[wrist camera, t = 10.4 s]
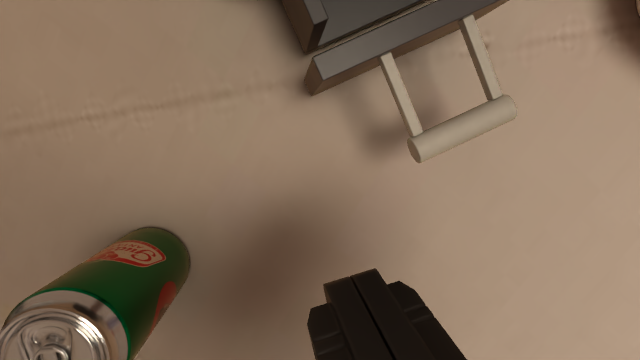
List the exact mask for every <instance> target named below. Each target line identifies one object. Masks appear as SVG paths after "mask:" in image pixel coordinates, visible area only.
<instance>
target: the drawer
mask: <svg viewBox="0 0 640 360" xmlns="http://www.w3.org/2000/svg"><path fill="white" fill-rule="evenodd" d="M281 1H282V3H283V5H284V8H285V10H286V12H287V14H288V17H289V19H290V21H291V23H292V26H293V28H294V30H295V32H296V35H297V37H298V39H299V41H300V44H301V46H302V48H303V50H304V53H305V54H308V53H311V52H313V51H315V50H317V49H319V48H322V47H324V46H326V45H328V44H330V43H333V42H335V41H337V40H339V39H341V38H344V37H346V36H348V35H350V34H353V33H355V32H357V31H359V30H361V29H364V28H366V27H368V26H370V25H372V24H375V23H377V22H379V21H381V20H383V19H386V18H388V17H390V16H392V15H395V14H397V13H399V12H401V11H403V10H406V9H408V8H410V7H412V6H414V5H417V4H419V3H421V2H423V1H425V0H281ZM507 1H509V0H437V1H435V2H433V3H431V4H429V5H426V6H424V7H422V8H420V9H418V10H415V11H413V12H411V13H409V14H407V15H404V16H402V17H400V18H398V19H396V20H393V21H391V22H389V23H387V24H385V25H382V26H380V27H378V28H376V29H374V30H371V31H369V32H367V33H365V34H362V35H360V36H358V37H356V38H354V39H351V40H349V41H347V42H345V43H343V44H340V45H338V46H336V47H334V48H332V49H329V50H327V51H325V52H323V53H321V54H318V55H316V56H314V57H313V58H312V60H311V63H310V66H309V68H308V71H307V74H306V76H305V79H304V81H305V83H306V85H307V88H308V90H309V92H310V94H311V96H314V95H316V94H318V93H320V92H323V91H325V90H327V89H329V88H331V87H334V86H336V85H338V84H340V83H342V82H344V81H347V80H349V79H351V78H353V77H355V76H358V75H360V74H362V73H364V72H366V71H369V70H371V69H373V68H375V67H377V66H379V65H380V66H381V68H382V70H383V73H384V75H385V78H386V80H387V82H388V85H389V87H390V90H391V92H392V94H393V97H394V99H395V102H396V104H397V106H398V109H399V111H400V114H401V116H402V118H403V121H404V123H405V126H406V128H407V130H408V133H409V135H410V137H411V138H409V139H408V140H407V144H408V148H409V151H410V153H411V155H412V157H413V158H414V159H415V161H416V162H418V163H422V162H424V161H426V160H428V159H430V158H433V157H435V156H437V155H439V154H441V153H443V152H445V151H447V150H450V149H452V148H454V147H456V146H458V145H460V144H462V143H464V142H467V141H469V140H471V139H473V138H475V137H477V136H479V135H481V134H484V133H486V132H488V131H490V130H492V129H494V128H496V127H498V126H501V125H503V124H505V123H507V122H509V121H511V120H513V119H515V118H516V117H517V107H516V104H515V102H514V101H513V99H512V98H511V97H510V96H508V95H503V93H502V90H501V88H500V85H499V82H498V80H497V77H496V74H495V72H494V69H493V66H492V64H491V61H490V58H489V56H488V53H487V50H486V48H485V45H484V42H483V40H482V37H481V34H480V32H479V29H478V26H477V23H476V21H475V20H477V19H479V18H480V17H482V16H484V15H485V14H487V13H489V12H490V11H492V10H494V9H495V8H497V7H499V6H500V5H502V4H504V3H505V2H507ZM458 29H461V32H462V34H463V37H464V40H465V42H466V45H467V47H468V50H469V53H470V55H471V58H472V61H473V63H474V66H475V68H476V71H477V74H478V76H479V79H480V81H481V84H482V87H483V89H484V92H485V95H486V97H487V100H490V101H488V102H486V103H484V104H481V105H479V106H477V107H475V108H473V109H471V110H469V111H466V112H464V113H462V114H460V115H458V116H456V117H454V118H451V119H449V120H447V121H445V122H443V123H441V124H439V125H436V126H434V127H432V128H430V129H428V130H426V131H424V132H423V129H422V126H421V124H420V122H419V119H418V117H417V114H416V112H415V109H414V107H413V104H412V102H411V100H410V97H409V95H408V92H407V90H406V87H405V85H404V83H403V80H402V78H401V75H400V73H399V70H398V68H397V66H396V63H395V61H394V59H395V58H397V57H399V56H401V55H403V54H406V53H408V52H410V51H412V50H414V49H417V48H419V47H421V46H423V45H425V44H428V43H430V42H432V41H434V40H436V39H438V38H441V37H443V36H445V35H447V34H449V33H452V32H454V31H456V30H458Z"/></svg>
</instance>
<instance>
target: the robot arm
mask: <svg viewBox="0 0 640 360" xmlns="http://www.w3.org/2000/svg"><path fill="white" fill-rule="evenodd" d="M323 286H324V292H325V297H326V301H327V303H326V304H323V305H320V306H317V307H313V308H311V309H310V314H309V318H308V323H307V326H308V330H309V334H310V338H311V342H312V346H313V350H314V355H315V359H316V360H467V359H466V358H465V357H464V355H463V354H462V353H461V351H460V350H459V349H458V347H457V346H456V345H455V343H454V342H453V341H452V339H451V338H450V337H449V335H448V334H447V332H446V331H445V330H444V328H443V327H442V326H441V324H440V323H439V322H438V320H437V319H436V318H434V316H433V314H432V312H431V311H430V310H429V308H428V307H427V306H425V303H424V302H423V300H422V299H421V298H420V296H419V295H418V294H417V292H416V291H415V290H414V289H412V288H410V287H409V286H407V285H405V284H404V283H402V282H400V281H397V282H394V283H390V284H386V283H385V281H384V280H383V278H382V277H381V275H380V274H379V272H378V271H377V269H375V268H374V269H371V270H368V271H364V272H361V273H358V274H354V275H351V276H350V277H345V278H342V279H338V280H335V281H332V282H328V283H325V284H323Z"/></svg>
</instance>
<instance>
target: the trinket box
mask: <svg viewBox="0 0 640 360" xmlns="http://www.w3.org/2000/svg"><path fill="white" fill-rule="evenodd" d="M636 5H637V10H638V13H639V16H640V0H636Z"/></svg>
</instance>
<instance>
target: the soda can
mask: <svg viewBox="0 0 640 360" xmlns="http://www.w3.org/2000/svg"><path fill="white" fill-rule="evenodd" d="M189 269H190V261H189V256H188V253H187V250H186V248H185V247H184V245H183V244H182V243H181V241H180V240H179V239H178V238H177V237H175V236H174V235H173V234H171V233H169V232H167V231H165V230H162V229H158V228H142V229H138V230H135V231H132V232H131V233H129V234H127V235H125V236H124V237H122V238H121V239H119V240H117V241H116V242H114V243H113V244H111V245H110V246H108V247H106V248H105V249H103V250H102V251H100V252H98V253H97V254H95V255H94V256H92V257H90V258H89V259H87V260H86V261H84V262H83V263H81V264H79V265H78V266H76V267H75V268H73V269H71V270H70V271H68V272H67V273H65V274H64V275H62V276H60V277H59V278H57V279H56V280H54V281H52V282H51V283H49V284H48V285H46V286H44V287H43V288H41V289H40V290H38V291H37V292H35V293H33V294H32V295H30V296H29V297H27V298H26V299H24V300H23V301H22V302H20V303H19V304H18V305H17V306H16V307H15V308H14V309H13V310H12V311H11V313H10V314H9V316H8V317H7V319H6V320H5V323H4V325H3V327H2V329H1V331H0V360H134V358H135V357H136V355H137V354H138V352H139V351H140V349H141V348H142V346H143V345H144V343H145V342H146V340H147V339H148V337H149V336H150V334H151V333H152V331H153V330H154V328H155V327H156V325H157V324H158V322H159V321H160V319H161V318H162V316H163V315H164V313H165V312H166V310H167V309H168V307H169V306H170V304H171V303H172V301H173V300H174V298H175V297H176V295H177V294H178V292H179V291H180V289H181V288H182V286H183V285H184V283H185V282H186V280H187V277H188V274H189Z"/></svg>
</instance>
